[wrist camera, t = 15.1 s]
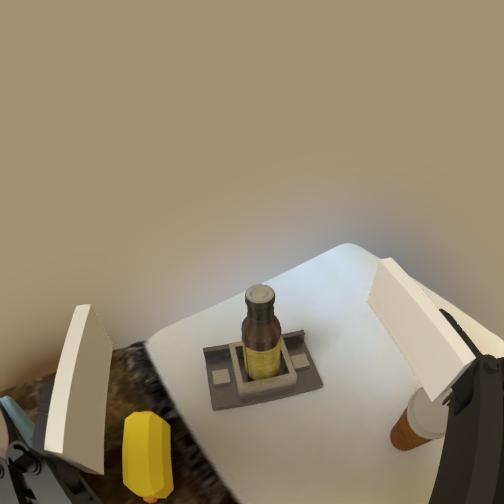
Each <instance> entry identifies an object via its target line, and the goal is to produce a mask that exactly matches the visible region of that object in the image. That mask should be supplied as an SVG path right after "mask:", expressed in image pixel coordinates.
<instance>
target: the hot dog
mask: <svg viewBox="0 0 504 504" xmlns="http://www.w3.org/2000/svg"><path fill="white" fill-rule="evenodd" d="M122 464H123V483H124V484H125V485H126V486H127V487H128V488H129V489H130V490H131V491H132V492H134V493H135V494H136V495H138V496H140V497H142V498H143V500H144V501H146V502H148V503H150V504H151V503H154V502H157V500H158V498H167V497H168V495H169V494H170V493H171V492H172V491H173V490H174V487H173V477H172V466H171V445H170V425H169V424H168V423H167V422H166V421H165V420H163V419H162V418H161V417H159V416H158V415H156V414H155V413H154V412H151V411H144V412H134V413H132V414H131V415H130V416H128V417H127V418H126V419H125V426H124V436H123V448H122Z"/></svg>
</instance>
